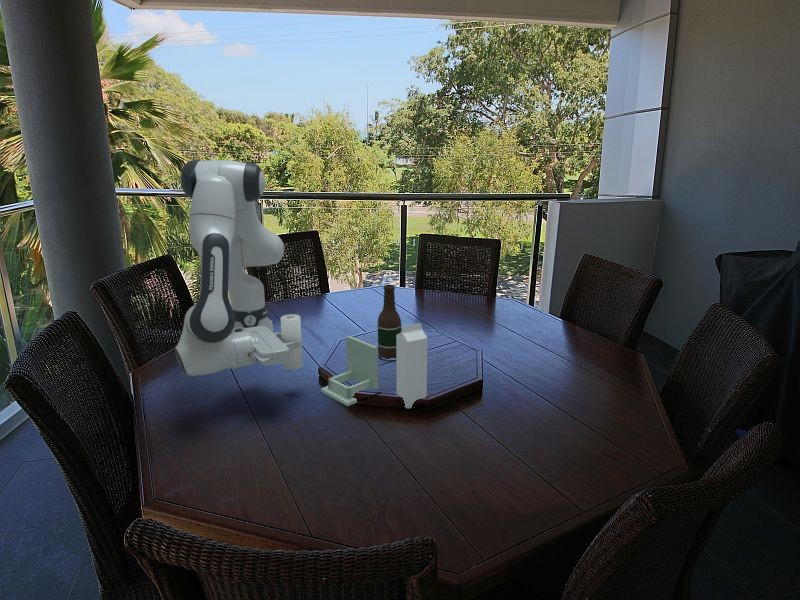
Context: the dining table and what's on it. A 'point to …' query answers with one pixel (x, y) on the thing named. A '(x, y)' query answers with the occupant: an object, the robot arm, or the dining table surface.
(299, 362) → the roll
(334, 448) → the dining table surface
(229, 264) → the robot arm
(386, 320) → the beer bottle
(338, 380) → the holder
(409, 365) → the milk
